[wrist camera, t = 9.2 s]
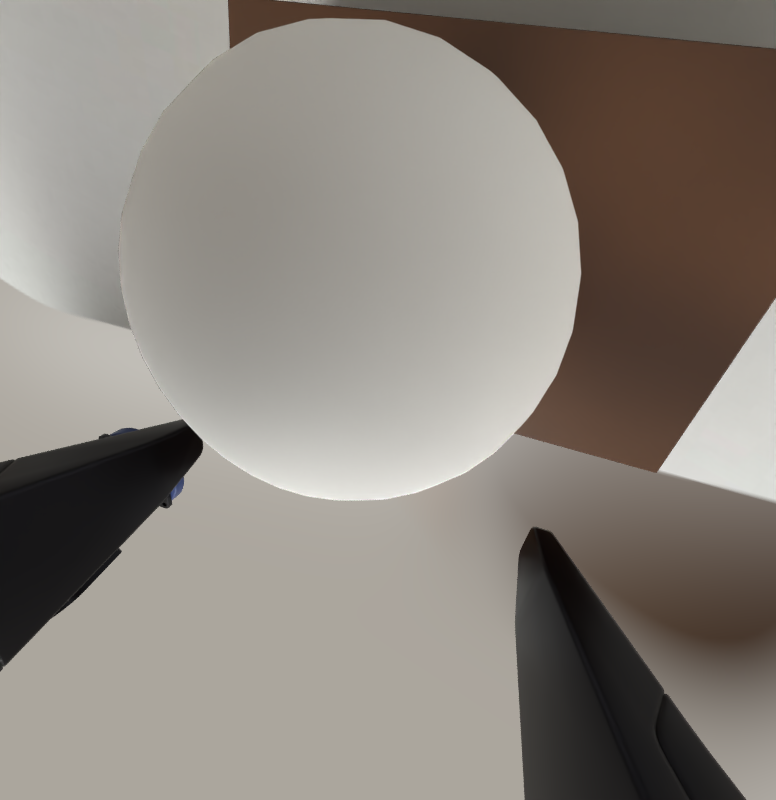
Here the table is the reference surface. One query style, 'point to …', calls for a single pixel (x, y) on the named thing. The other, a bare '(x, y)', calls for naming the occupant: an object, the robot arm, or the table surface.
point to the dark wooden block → (632, 210)
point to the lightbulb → (350, 259)
